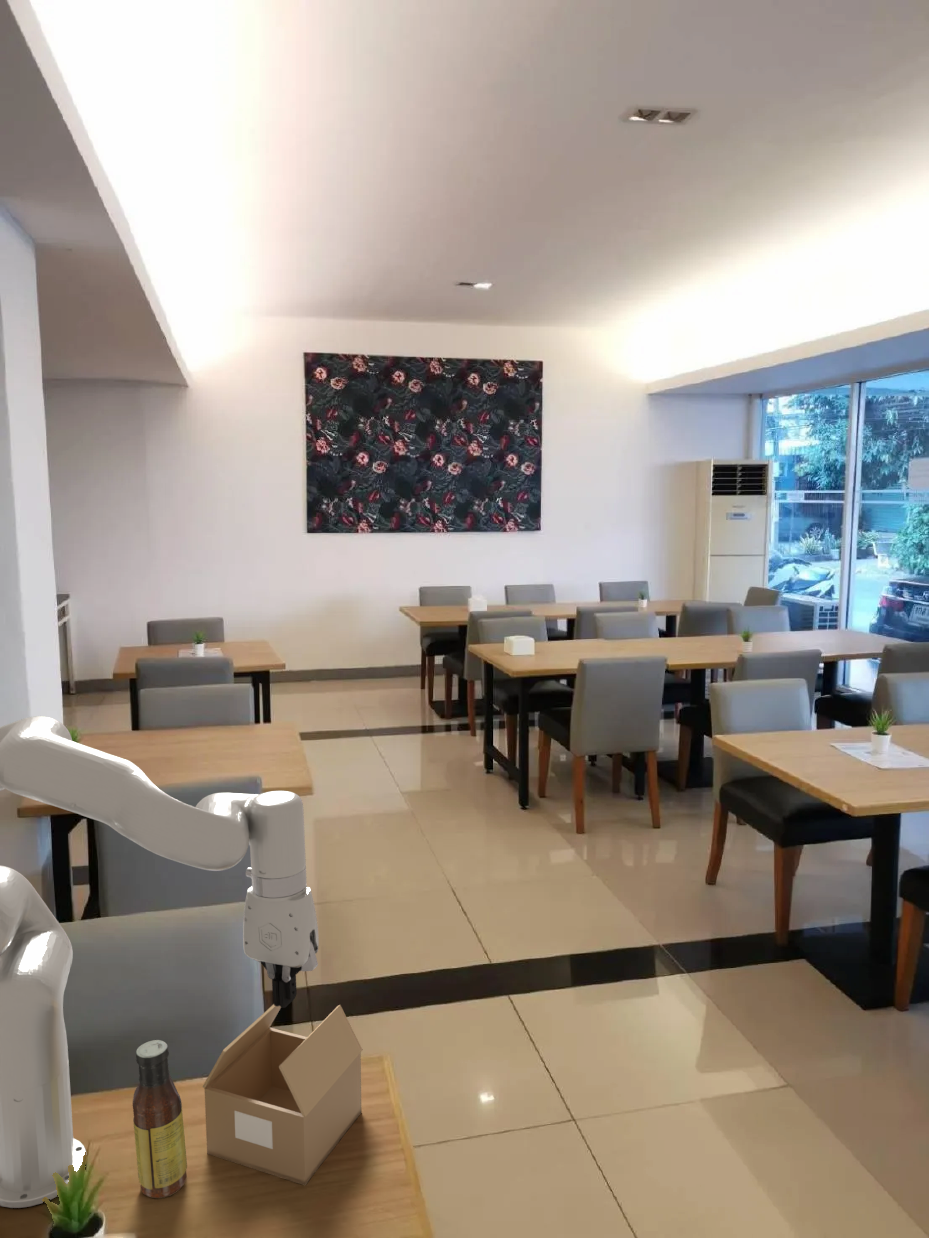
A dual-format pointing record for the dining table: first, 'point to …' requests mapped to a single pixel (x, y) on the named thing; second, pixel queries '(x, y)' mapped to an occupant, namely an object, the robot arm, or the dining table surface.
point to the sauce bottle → (158, 1124)
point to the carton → (276, 1112)
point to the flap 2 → (320, 1060)
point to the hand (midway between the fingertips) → (285, 1001)
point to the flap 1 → (242, 1042)
